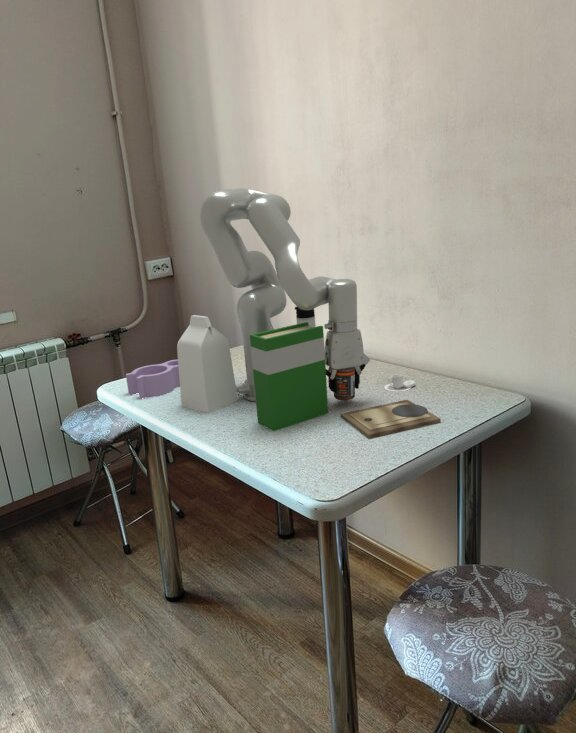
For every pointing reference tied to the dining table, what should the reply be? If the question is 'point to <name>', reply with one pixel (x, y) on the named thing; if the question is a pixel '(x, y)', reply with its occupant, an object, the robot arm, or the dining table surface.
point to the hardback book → (289, 375)
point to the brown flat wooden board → (389, 418)
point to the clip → (154, 379)
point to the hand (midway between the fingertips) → (344, 388)
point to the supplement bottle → (345, 384)
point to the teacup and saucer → (399, 383)
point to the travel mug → (305, 316)
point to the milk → (205, 367)
